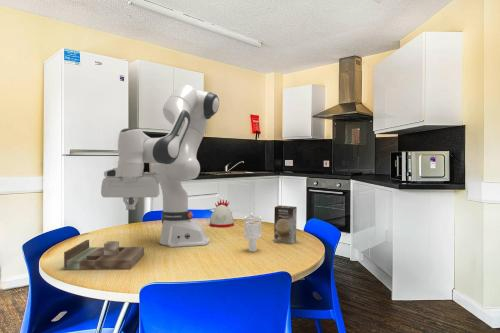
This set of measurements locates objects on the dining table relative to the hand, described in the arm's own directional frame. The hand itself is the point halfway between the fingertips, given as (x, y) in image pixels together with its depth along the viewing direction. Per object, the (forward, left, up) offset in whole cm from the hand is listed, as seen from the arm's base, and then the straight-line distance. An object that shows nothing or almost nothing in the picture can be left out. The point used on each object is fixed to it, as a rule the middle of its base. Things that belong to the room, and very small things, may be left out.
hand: (130, 209), depth 124 cm
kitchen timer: (-32, -69, -19) cm, 78 cm away
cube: (+7, 0, -16) cm, 17 cm away
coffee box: (-62, -28, -19) cm, 70 cm away
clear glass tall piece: (-46, -13, -19) cm, 51 cm away
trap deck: (+8, 0, -19) cm, 21 cm away
